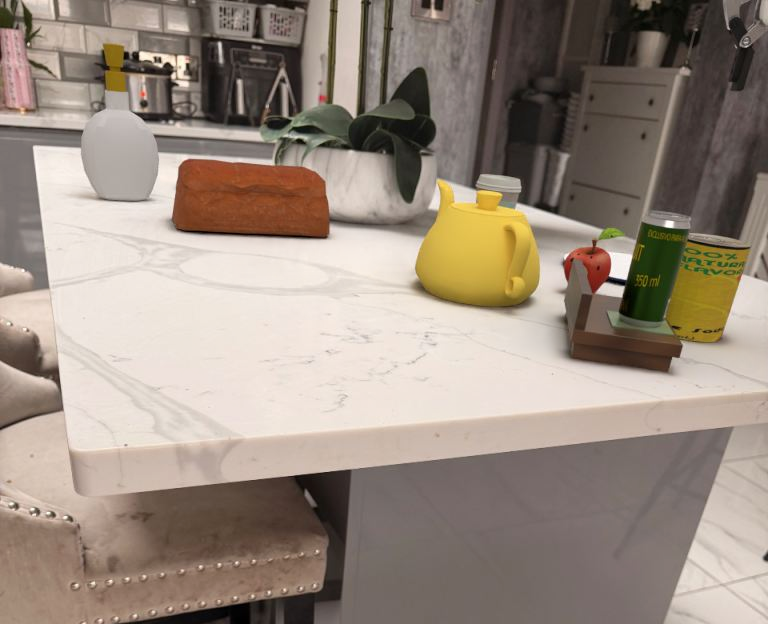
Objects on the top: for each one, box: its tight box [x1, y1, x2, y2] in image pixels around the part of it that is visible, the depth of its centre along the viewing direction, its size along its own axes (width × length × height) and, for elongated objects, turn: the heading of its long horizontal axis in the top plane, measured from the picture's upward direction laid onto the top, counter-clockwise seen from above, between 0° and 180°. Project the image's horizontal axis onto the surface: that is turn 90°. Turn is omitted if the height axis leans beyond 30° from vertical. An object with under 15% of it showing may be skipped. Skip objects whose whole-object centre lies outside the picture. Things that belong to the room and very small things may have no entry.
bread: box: [171, 158, 331, 238], centre depth 133 cm, size 16×27×11 cm, turn 109°
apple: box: [563, 227, 626, 294], centre depth 114 cm, size 8×7×10 cm
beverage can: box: [666, 231, 752, 343], centre depth 100 cm, size 9×9×12 cm
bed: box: [563, 259, 684, 373], centre depth 93 cm, size 12×20×8 cm, turn 170°
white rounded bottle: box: [80, 42, 160, 202], centre depth 143 cm, size 14×9×26 cm, turn 118°
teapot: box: [414, 179, 541, 307], centre depth 108 cm, size 25×18×14 cm
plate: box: [562, 251, 633, 284], centre depth 135 cm, size 25×25×1 cm
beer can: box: [619, 210, 692, 328], centre depth 87 cm, size 5×5×12 cm
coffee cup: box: [475, 173, 522, 210], centre depth 143 cm, size 8×8×12 cm
